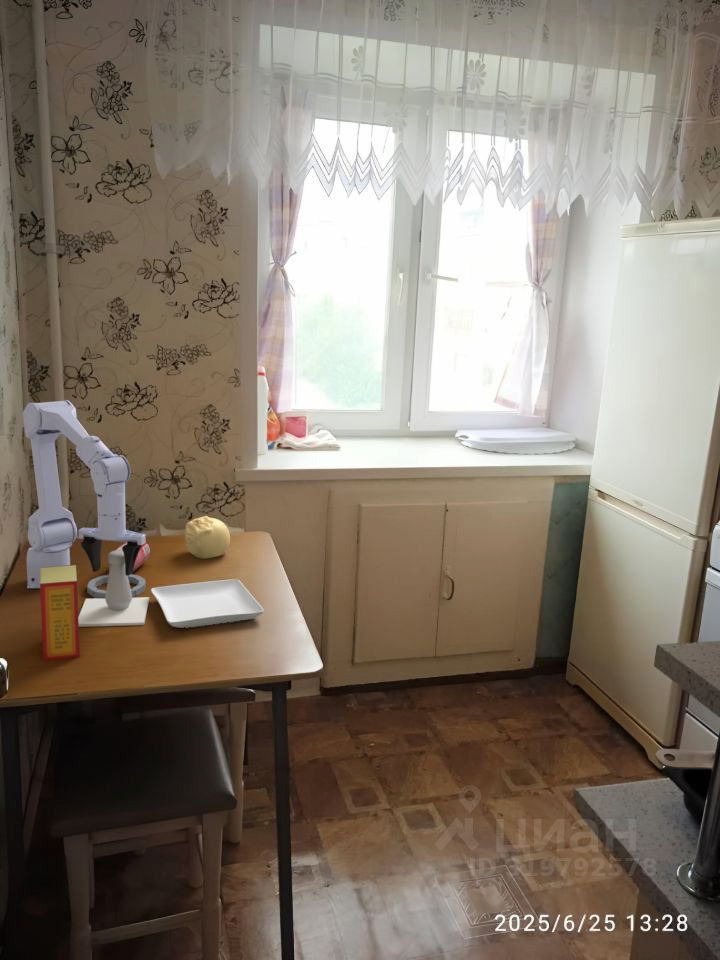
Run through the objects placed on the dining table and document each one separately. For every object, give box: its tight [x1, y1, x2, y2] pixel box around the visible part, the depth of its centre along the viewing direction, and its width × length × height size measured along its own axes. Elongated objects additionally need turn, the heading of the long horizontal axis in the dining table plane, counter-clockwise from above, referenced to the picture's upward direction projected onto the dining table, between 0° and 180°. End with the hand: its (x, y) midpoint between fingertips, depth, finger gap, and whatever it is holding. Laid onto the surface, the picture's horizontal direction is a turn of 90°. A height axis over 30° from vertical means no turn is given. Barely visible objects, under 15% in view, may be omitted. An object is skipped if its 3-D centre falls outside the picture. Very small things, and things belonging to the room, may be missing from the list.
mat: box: [78, 596, 150, 628], centre depth 172 cm, size 14×14×1 cm
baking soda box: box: [39, 564, 81, 662], centre depth 152 cm, size 10×6×16 cm
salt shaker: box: [105, 549, 133, 611], centre depth 172 cm, size 6×6×13 cm
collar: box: [86, 573, 147, 599], centre depth 185 cm, size 13×13×2 cm
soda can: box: [107, 541, 151, 572], centre depth 197 cm, size 7×7×12 cm
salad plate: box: [150, 578, 265, 629], centre depth 175 cm, size 21×21×3 cm
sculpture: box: [184, 515, 231, 560], centre depth 211 cm, size 12×12×11 cm
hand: (112, 572), depth 170 cm, fingers open, 7 cm apart
